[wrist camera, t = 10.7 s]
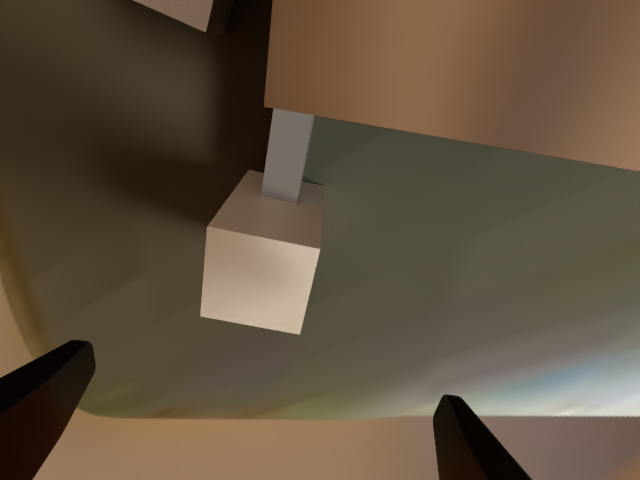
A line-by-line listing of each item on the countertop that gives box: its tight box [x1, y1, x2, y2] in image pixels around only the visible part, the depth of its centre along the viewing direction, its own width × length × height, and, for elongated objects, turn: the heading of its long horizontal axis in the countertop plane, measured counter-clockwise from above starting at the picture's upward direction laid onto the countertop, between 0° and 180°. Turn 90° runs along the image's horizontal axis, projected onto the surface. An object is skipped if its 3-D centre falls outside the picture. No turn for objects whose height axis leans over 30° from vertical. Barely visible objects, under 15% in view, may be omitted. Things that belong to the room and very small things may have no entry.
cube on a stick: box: [200, 108, 324, 335], centre depth 14 cm, size 4×16×7 cm, turn 168°
